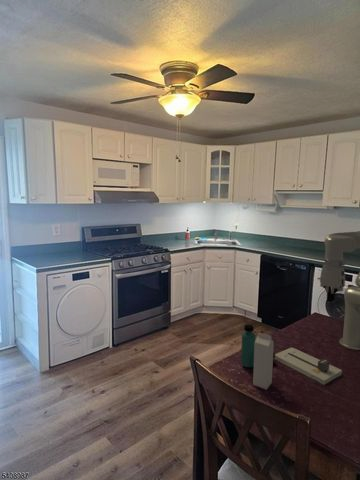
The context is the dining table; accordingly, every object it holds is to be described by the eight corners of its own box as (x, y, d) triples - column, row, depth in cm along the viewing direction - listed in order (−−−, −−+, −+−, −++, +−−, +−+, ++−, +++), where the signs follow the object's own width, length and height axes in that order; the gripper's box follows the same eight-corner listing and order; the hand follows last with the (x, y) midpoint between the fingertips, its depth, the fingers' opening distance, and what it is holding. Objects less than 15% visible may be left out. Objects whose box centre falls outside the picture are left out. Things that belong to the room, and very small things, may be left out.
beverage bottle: (255, 371, 142) (257, 329, 139) (240, 369, 143) (241, 327, 140) (254, 363, 148) (256, 323, 145) (240, 362, 149) (241, 322, 146)
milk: (258, 378, 136) (260, 329, 133) (272, 383, 132) (274, 333, 130) (252, 384, 131) (254, 334, 128) (266, 390, 128) (268, 338, 125)
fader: (322, 366, 141) (323, 358, 141) (328, 369, 139) (329, 361, 138) (317, 368, 139) (318, 361, 139) (323, 372, 137) (324, 364, 136)
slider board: (291, 350, 161) (291, 346, 160) (341, 374, 139) (342, 369, 139) (273, 358, 153) (274, 354, 152) (324, 384, 132) (324, 379, 131)
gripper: (353, 265, 143) (350, 303, 146) (322, 259, 156) (320, 295, 158) (344, 267, 139) (341, 306, 142) (314, 261, 151) (311, 298, 154)
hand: (330, 300), depth 150 cm, fingers closed
